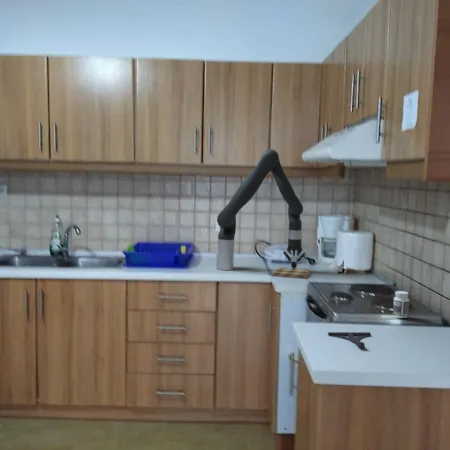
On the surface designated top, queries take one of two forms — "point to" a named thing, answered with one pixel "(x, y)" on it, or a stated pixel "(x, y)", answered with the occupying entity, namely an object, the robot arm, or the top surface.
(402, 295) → the pill bottle
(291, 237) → the robot arm
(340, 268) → the white crumpled paper
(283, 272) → the walnut plank
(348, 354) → the top surface
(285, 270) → the oak plank
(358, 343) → the bracket
